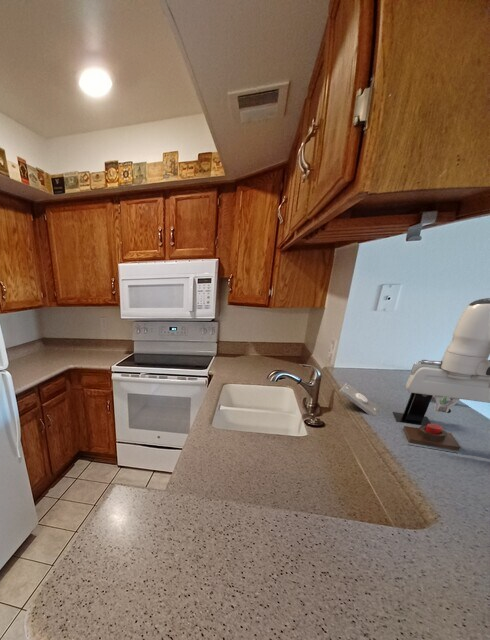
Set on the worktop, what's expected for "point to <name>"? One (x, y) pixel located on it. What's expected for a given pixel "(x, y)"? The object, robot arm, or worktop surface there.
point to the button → (434, 428)
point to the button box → (431, 438)
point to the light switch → (359, 400)
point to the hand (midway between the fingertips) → (440, 410)
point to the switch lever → (440, 403)
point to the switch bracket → (415, 410)
